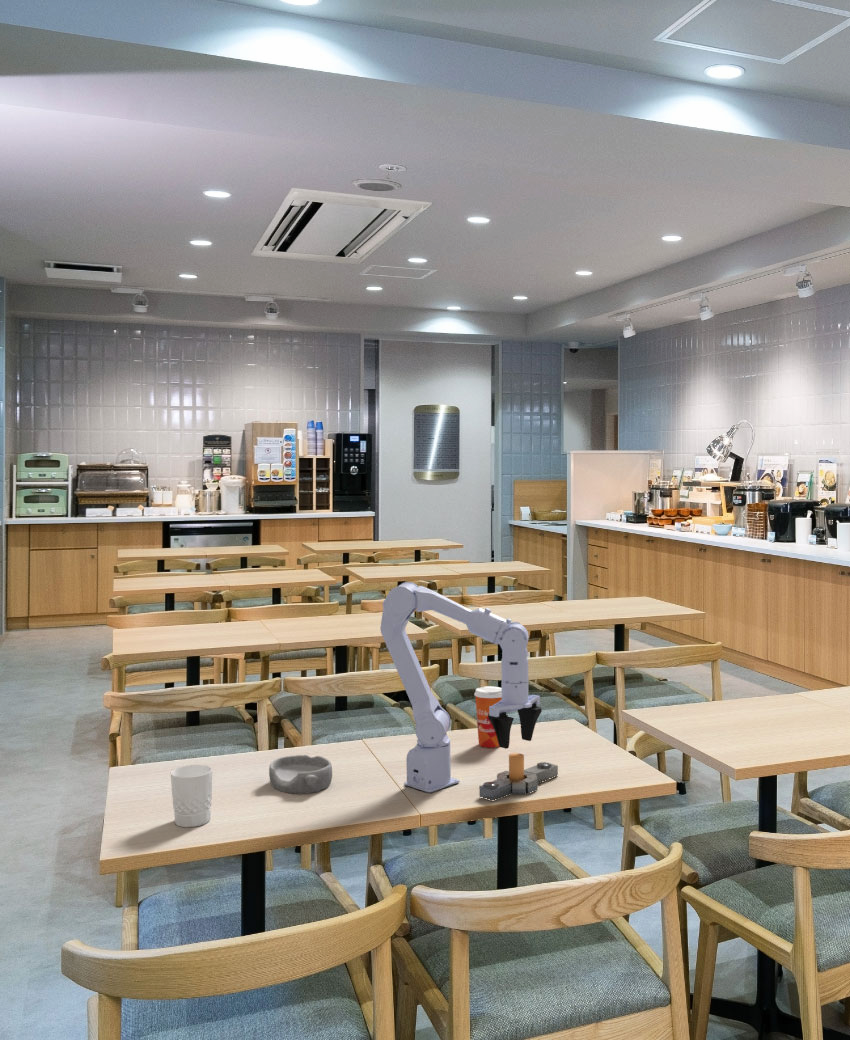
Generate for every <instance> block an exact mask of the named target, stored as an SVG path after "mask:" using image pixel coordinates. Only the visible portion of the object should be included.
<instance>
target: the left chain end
mask: <svg viewBox="0 0 850 1040" xmlns="http://www.w3.org/2000/svg"><path fill="white" fill-rule="evenodd" d="M508 782H509V781H505V780H502V779H498V780H497V779H495V780H492V781H486V782H484V783H483V784H482V785H479V788H478V790H479V794H478V796H479V798H480V797H483V798H487V799H490V800H495V799H498V798H501V797H503V798H505V797H504V796H506V795H509V794H511V795H526V794H527V793H529V794H531V793H530V792H532V791H534V792H536V791H535V790H538V784H537V785H535V786H533V787H530V788H526V789H512V782H509V783H508ZM525 793H526V794H525ZM532 793H533V792H532ZM509 796H510V795H509ZM506 797H507V796H506ZM501 799H502V798H501ZM498 800H499V799H498Z"/></svg>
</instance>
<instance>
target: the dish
mask: <svg viewBox="0 0 850 1040" xmlns="http://www.w3.org/2000/svg"><path fill="white" fill-rule="evenodd" d="M268 775H269V781H270V784H271V786H272V788H273V789H275V790H277V791H278V792H279V791H280V792H283V793H288V794H299V795H300V794H312V793H316V792H319V791H322V790H324V789H326V788H328V787H329V786H330V785H331V783H332V779H333V766H332V762H331V760H329V759H327V758H326V757H324V756H321V755H320V756H319V755H317V756H310V755H308V754H307V755H306V754H304V755H302V754H296V755H295V754H294V755H287V756H286V755H285V756H280V757H278V758H276V759H274V760H272V762H270V764H269V768H268Z"/></svg>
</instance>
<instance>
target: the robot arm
mask: <svg viewBox="0 0 850 1040" xmlns="http://www.w3.org/2000/svg"><path fill="white" fill-rule="evenodd" d="M415 611H416V613H419V612H420V613H421V612H427V611H433V612H436V613H438V614H440V615H443V616H445V617H447V618H451V619H453V620H455V621H457V622H459V623H463V624H465V625H466V628H467V629H468V632H469V633H470V634H473V635H474V636H476V637H479V638H481V639H483V640H485V641H488V642H489V643H492V644H493V645H499V646H500V649H501V651H502V653H501V655H502V656H501V657H502V658H501V662H500V663H501V664H500V665H501V666H500V667H501V669H500V670H501V688H502V700H501V701H499V702H498V703H496V704H495V705H493V706H490V707H489V714H488V719H489V720H490V722H491V724H492V725H493V728H494V730H495V733H496V736H497V739H498V743H499V747H498V748H500V749H501V748H502V749H509V748H510V747H509V746H510V742H511V741H510V740H511V739H510V737H511V731H512V730H511V729H512V724H513V722H514V719H515V718H514V717H511V716H509V715H508V714H507V713H511V712H515V711H517V713H518V717H519V718H518V719H519V723H520V736H521V740H522V741H528V742H531V741H532V739H533V736H534V735H533V734H534V730H535V727H536V723H537V722H538V719H539V717H540V715H541V714H542V711H543V710H542V707H541V706H539V705H541V696H540V695H535V694H529V659H528V656H529V651H528V642H529V638H530V635H529V632H528V629H527V628H526V627H525V626H524V625H523V624H521V623H520V622H518V621H512V620H513V619H510V618H509V617H508V618H506V619H505V618H503V617H501V616H499V615H497V614H494V613H492V609H491V608H488V607H486V608H485V609H484V608H481V607H479V608H476V609H474V610H473V609H472V610H471V609H470V608H468V607H465V606H464V605H462V604H460V603H458V602H456V601H454V600H452V599H450V598H448V597H446V596H444V595H443V594H440V593H438V592H436V591H434V590H432V589H430V588H427V587H426V586H422V585H417V584H416V583H415V582H411V581H405V582H402V583H400V584H399V585H398V586H396V587H392V589H390V591H389V592H388V594H387V595H386V597H385V599H384V600H383V601H382V614H381V622H380V627H379V628H380V633H381V636H382V638H383V640H384V643H385V645H386V648H387V650H388V652H389V655H390V657H391V659H392V661H393V665H394V667H395V669H396V671H397V672H398V676H399V678H400V680H401V683H402V685H403V688H404V690H405V692H406V695H407V696H408V699H409V702H410V704H411V706H412V717H413V720H414V722H415V736H416V738H417V739H416V740H417V741H416V745H415V746H414V747H413V748H411V749H410V750H408V752H407V754H406V781H404V784H403V785H404V786H408V787H411V788H414V789H415V790H416V789H417V790H420V791H423V792H424V793H425V792H426V793H433V792H436V791H439V790H441V789H442V790H443V789H444V788H447V787H449V786H453V785H456V784H458V783H460V780H459V779H457V778H454V777H452V775H451V773H452V771H451V738H450V737H449V736H448V734H447V732H448V731H449V730H450V727H451V725H452V724H451V723H452V721H451V720H452V719H451V715H450V714H449V712H448V711H446V710H445V709H444V708H443V707H442V706H441V704H440V702H439V700H438V699H437V697H436V696H434V693H433V692H432V689H431V687H430V685H429V683H428V680H427V678H426V675H425V673H424V671H423V668H422V666H421V664H420V661H419V659H418V657H417V655H416V652H415V649H414V647H413V645H412V643H411V640H410V638H409V636H408V634H407V633H408V632H407V631H406V627H407V625H408V623H409V621H410V619H411V616H412V615H413V613H414V612H415Z"/></svg>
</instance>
